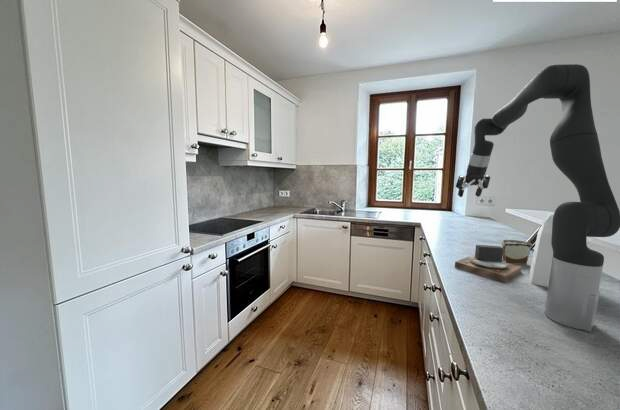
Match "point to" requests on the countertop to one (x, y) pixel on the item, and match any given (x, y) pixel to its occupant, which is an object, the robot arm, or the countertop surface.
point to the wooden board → (489, 270)
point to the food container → (516, 251)
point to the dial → (489, 257)
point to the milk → (542, 255)
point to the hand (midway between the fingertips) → (468, 196)
